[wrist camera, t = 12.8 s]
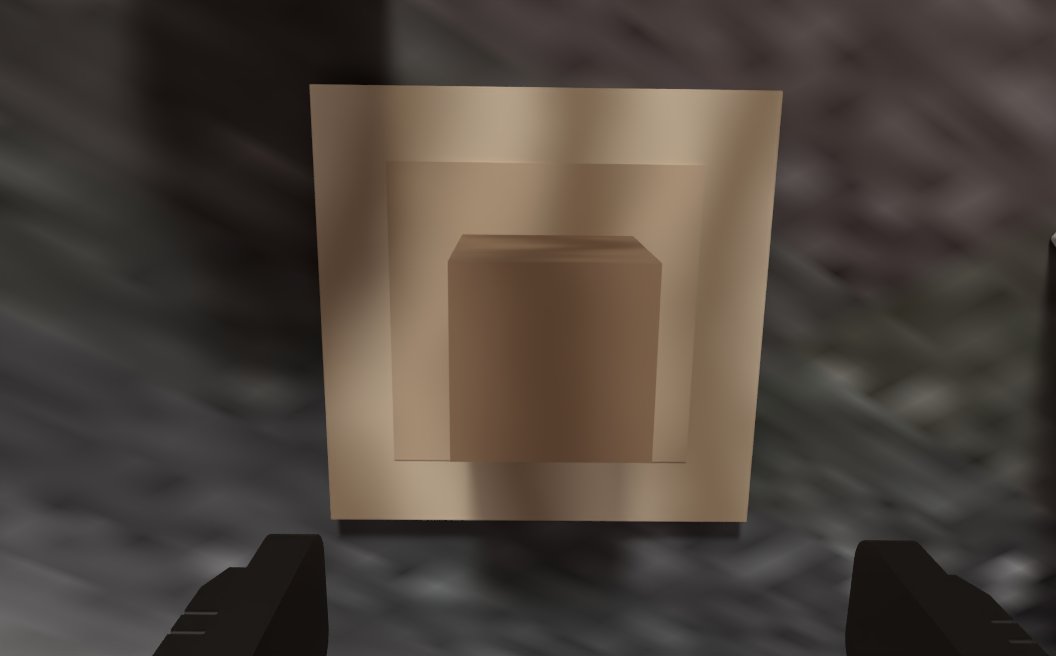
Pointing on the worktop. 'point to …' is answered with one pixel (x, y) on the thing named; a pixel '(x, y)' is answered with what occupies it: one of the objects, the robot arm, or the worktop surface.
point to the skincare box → (1054, 239)
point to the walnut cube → (552, 348)
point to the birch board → (538, 209)
